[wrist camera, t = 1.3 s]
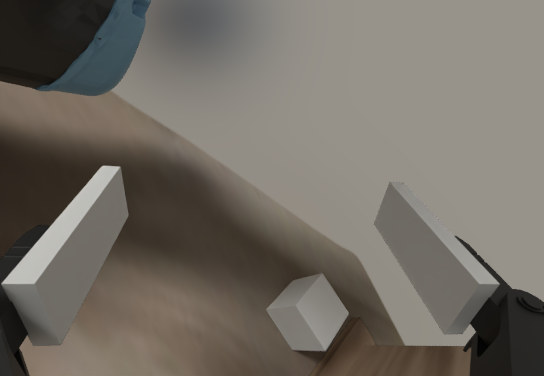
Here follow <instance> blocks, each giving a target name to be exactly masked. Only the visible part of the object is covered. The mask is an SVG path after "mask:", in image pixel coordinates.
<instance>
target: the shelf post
mask: <svg viewBox="0 0 544 376" xmlns="http://www.w3.org/2000/svg"><path fill="white" fill-rule="evenodd" d="M463 348H464V346H378V345H376V344H375V342H374V340H373V338H372V337H371V335H370V333H369V331H368V330H367V328H366V326H365V325H364V323H363V321H362V319H361V318H352V320H351V321H350V322H349V324H348V325H347V326H346V328H345V329H344V330H343V332H342V333H341V334H340V336H339V337H338V338H337V340H336V341H335V342H334V344H333V345H332V346H331V348H330V349H329V350H328V352H327V353H326V354H325V356H324V357H323V358H322V360H321V361H320V362H319V364H318V365H317V366H316V368H315V369H314V370H313V372H312V373H311V374H310V376H469V374H470V359H471V348H469V349H468V350H467V352H464V351H463Z"/></svg>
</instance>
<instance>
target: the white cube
mask: <svg viewBox="0 0 544 376" xmlns="http://www.w3.org/2000/svg"><path fill="white" fill-rule="evenodd" d="M266 311H267V312H268V314H269V315H270V317H271V318H272V320H273V322H274V323H275V325H276V326H277V328H278V329H279V331H280V332H281V334H282V335H283V337H284V338H285V340H286V341H287V343H288V344H289V346H290V347H291V349H292V350H305V351H326V350H327V348H328V347H329V345H330V343H331V342H332V340H333V339H334V337H335V335H336V334H337V332H338V331H339V329H340V327H341V326H342V324H343V323H344V321H345V319H346V318H347V316H348V315H349V313H348V311H347V310H346V308H345V307H344V305H343V303H342V302H341V300H340V299H339V297H338V296H337V294H336V293H335V291H334V290H333V288H332V287H331V285H330V284H329V282H328V281H327V279H326V278H325V276H324V275H323V273H320V274H316V275H312V276H308V277H304V278H300V279H296V280H293V281H292V282H291V283H290V284H289V285H288V286H287V287H286V288H285V289H284V290H283V292H282V293H281V294H280V295H279V296H278V297H277V298H276V299H275V300H274V301H273V302H272V304H271V305H270V306H269V307H268V308H267V309H266Z"/></svg>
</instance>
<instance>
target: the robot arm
mask: <svg viewBox="0 0 544 376" xmlns="http://www.w3.org/2000/svg"><path fill="white" fill-rule="evenodd" d="M150 3H151V0H0V81H2V82H7V83H11V84H16V85H21V86H25V87H30V88H33V89H36V90H39V91H52V90H54V91H60V92H67V93H73V94H80V95H86V96H97V95H101V94H104V93H106V92H108V91H110V90H111V89H113V88H114V87H115V86H116V85H117V84H118V83H119V82H120V81H121V79H122V78H123V76H124V75H125V73H126V72H127V70H128V68H129V66H130V64H131V62H132V60H133V58H134V55H135V53H136V50H137V48H138V46H139V43H140V40H141V37H142V34H143V31H144V27H145V12H146V11H147V9H148V7H149V5H150ZM128 216H129V215H128V209H127V203H126V197H125V190H124V184H123V178H122V172H121V167H118V166H102V167H101V168H100V169H99V170H98V171H97V173H96V174H95V175H94V176H93V177H92V178H91V180H90V181H89V182H88V183H87V184H86V185H85V187H84V188H83V189H82V190H81V191H80V192H79V194H78V195H77V196H76V197H75V198H74V199H73V201H72V202H71V203H70V204H69V205H68V206H67V208H66V209H65V210H64V211H63V212H62V213H61V215H60V216H59V217H58V218H57V219H56V220H55V222H54V223H53V224H52V225H51V226H46V225H38V226H36V227H35V228H33V229H32V230H30V231H28V232H27V233H25V234H23V235H22V236H21V237H20V238H19V240H18V241H17V242H16V243H15V244H14V245H13V247H12V248H10V249H9V250H8V251H7V252H6V253H5V254H4V257H1V259H0V376H29V373H28V370H27V367H26V364H25V361H24V358H23V355H22V352H21V350H20V349H19V347H20V345H21V344H22V342H23V341H24V339H25V338H26V336H27V335H28V337H29V339H30V341H31V343H32V345H33V346H50V345H61V344H62V342H63V340H64V338H65V336H66V334H67V332H68V330H69V329H70V327H71V325H72V323H73V321H74V319H75V317H76V315H77V313H78V311H79V309H80V308H81V306H82V304H83V302H84V300H85V298H86V296H87V294H88V292H89V290H90V288H91V287H92V285H93V283H94V281H95V279H96V277H97V275H98V273H99V271H100V269H101V267H102V265H103V264H104V262H105V260H106V258H107V256H108V254H109V252H110V250H111V248H112V246H113V244H114V243H115V241H116V239H117V237H118V235H119V233H120V231H121V229H122V227H123V225H124V223H125V222H126V220H127V218H128ZM374 225H375V226H376V228H377V229H378V231H379V233H380V234H381V236H382V237H383V239H384V241H385V242H386V244H387V245H388V247H389V248H390V250H391V252H392V253H393V255H394V256H395V258H396V259H397V261H398V263H399V264H400V266H401V267H402V269H403V270H404V272H405V274H406V275H407V277H408V278H409V280H410V282H411V283H412V285H413V286H414V288H415V289H416V291H417V292H418V294H419V296H420V297H421V299H422V300H423V302H424V304H425V305H426V307H427V308H428V310H429V311H430V313H431V315H432V316H433V318H434V319H435V321H436V322H437V324H438V325H439V327H440V329H441V330H442V332H443V333H444V334H463V332H464V331H465V330H466V328H467V327H468V326H469V324H471V325H472V327H473V328H474V329H475V331H476V333H475V334H474V335H473V336H472V338H471V339H470V340H469V341H468V343H467V344H466V345H465V346H464V348H463V351H464V352H467V350H468V349H469V348H471V359H470V374H469V376H544V302H542V301H541V300H540V299H538V298H537V297H535V296H533V295H532V294H530V293H528V292H525V291H522V290H517V289H512V288H511V287H510V286H509V285H508V284H507V283H506V282H505V281H504V280H503V279H502V278H501V277H500V276H499V275H498V274H497V273H496V272H495V271H494V270H493V269H492V268H491V267H490V266H489V265H488V264H487V263H485V262H484V260H483V259H482V258H481V257H480V256H479V255H477V253H476V252H475V251H474V249H472V247H470V245H469V244H467V243H466V242H464V241H463V240H461V239H460V238H458V237H457V236H454V235H452V233H451V232H450V231H449V230H448V229H447V228H446V227H445V226H444V225H443V224H442V223H441V222H440V221H439V220H438V219H437V218H436V217H435V216H434V214H433V213H432V212H431V211H430V210H429V209H428V208H427V207H426V206H425V205H424V204H423V203H422V202H421V201H420V200H419V199H418V198H417V197H416V196H415V195H414V193H413V192H412V191H411V190H410V189H409V188H408V187H407V186H406V185H405V184H404V183H400V182H389V185H388V188H387V190H386V193H385V195H384V198H383V201H382V203H381V206H380V209H379V211H378V214H377V217H376V220H375V222H374Z"/></svg>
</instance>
